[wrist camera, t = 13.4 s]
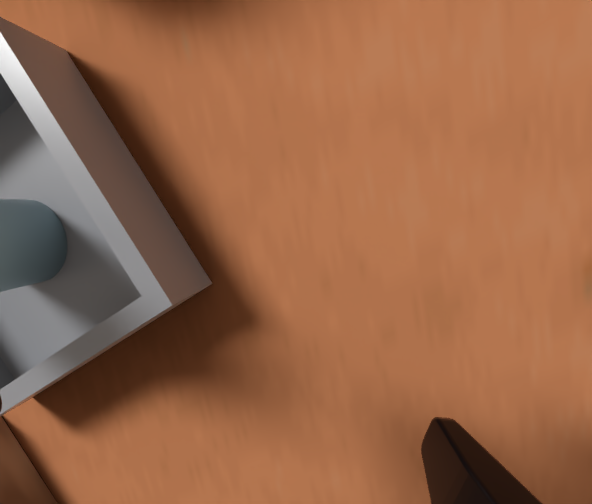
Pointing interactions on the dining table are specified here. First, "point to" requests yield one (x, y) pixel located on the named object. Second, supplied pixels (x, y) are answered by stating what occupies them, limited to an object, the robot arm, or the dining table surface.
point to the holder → (19, 474)
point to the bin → (78, 223)
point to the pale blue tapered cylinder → (29, 243)
